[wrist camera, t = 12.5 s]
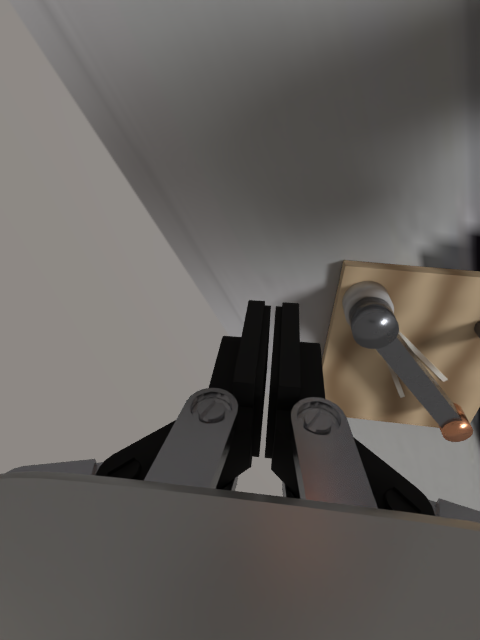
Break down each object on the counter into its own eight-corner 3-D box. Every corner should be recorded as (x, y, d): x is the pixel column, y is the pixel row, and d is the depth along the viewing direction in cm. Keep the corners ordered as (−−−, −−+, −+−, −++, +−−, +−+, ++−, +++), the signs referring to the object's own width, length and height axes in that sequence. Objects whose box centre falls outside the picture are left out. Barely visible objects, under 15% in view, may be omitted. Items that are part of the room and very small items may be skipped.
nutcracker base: (543, 276, 39) (595, 317, 32) (461, 422, 52) (486, 472, 45) (343, 260, 40) (354, 296, 34) (312, 405, 53) (315, 452, 47)
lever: (340, 311, 39) (343, 328, 36) (377, 288, 37) (384, 305, 34) (436, 426, 47) (445, 446, 44) (471, 412, 45) (483, 433, 42)
